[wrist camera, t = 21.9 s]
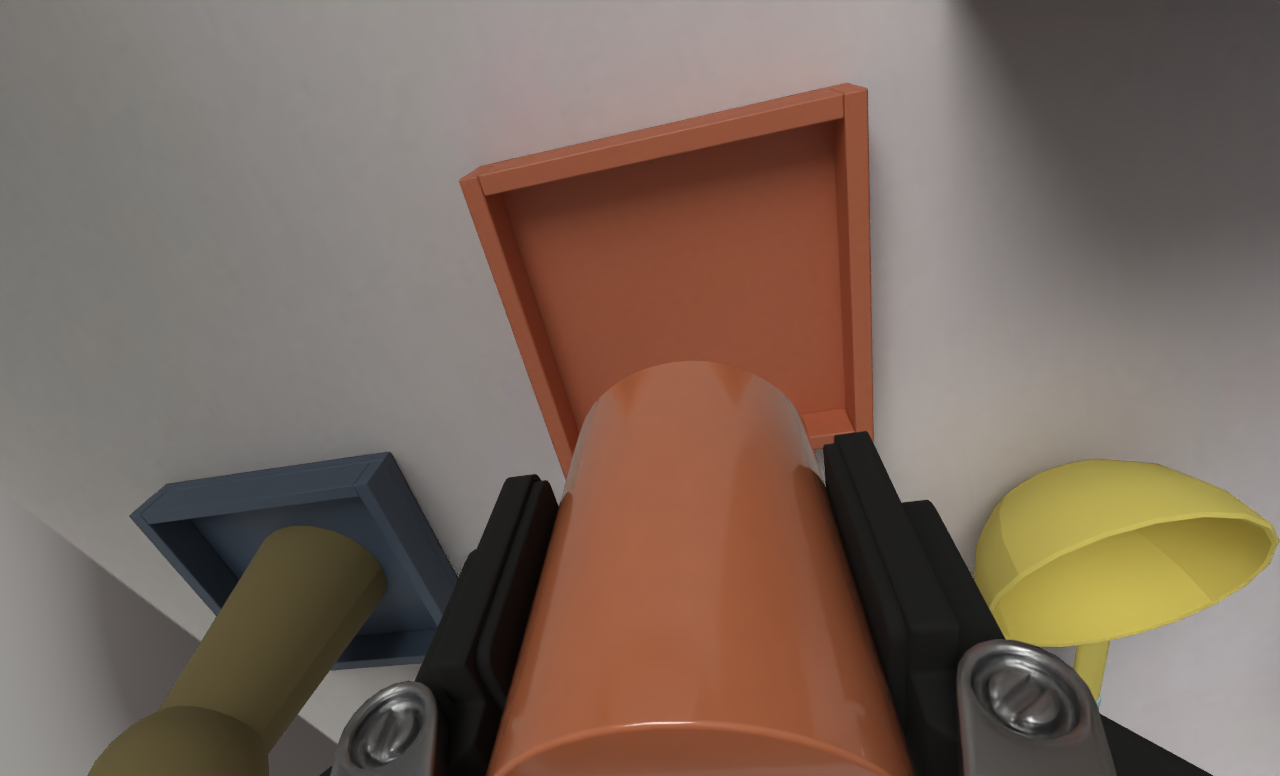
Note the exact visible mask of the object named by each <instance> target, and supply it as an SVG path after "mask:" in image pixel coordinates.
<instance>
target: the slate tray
mask: <svg viewBox="0 0 1280 776" xmlns="http://www.w3.org/2000/svg"><path fill="white" fill-rule="evenodd" d="M129 517H130V518H131V519H132V520H133V521H134V523H135V524H136V525H137V526H138V527H139V528H140V529H141V531H142V532H143V533H144V534H145V535H146V536H147V537H148V539H149V540H150V541H151V542H152V543H153V544H154V545H155V547H156V548H157V549H158V550H159V551H160V552H161V553H162V555H163V556H164V557H165V558H166V559H167V560H168V561H169V563H170V564H171V565H172V566H173V567H174V568H175V569H176V571H177V572H178V573H179V574H180V575H181V576H182V577H183V579H184V580H185V581H186V582H187V583H188V584H189V585H190V587H191V588H192V589H193V590H194V591H195V592H196V593H197V595H198V596H199V597H200V598H201V599H202V600H203V601H204V602H205V604H206V605H207V606H208V607H209V608H210V609H211V610H212V612H213V613H214V614H215V615H216V616H217V615H218V614H219V612H220V610H221V609H222V607H223V606H224V604H225V602H226V601H227V599H228V598H229V596H230V594H231V593H232V591H233V590H234V588H235V586H236V585H237V583H238V581H239V580H240V578H241V577H242V575H243V573H244V572H245V570H246V569H247V567H248V565H249V564H250V562H251V561H252V559H253V557H254V556H255V554H256V553H257V551H258V549H259V548H260V546H261V545H262V543H263V541H264V540H265V538H267V537H268V536H269V535H271V534H272V533H273V532H275V531H276V530H278V529H282V528H286V527H290V526H315V527H319V528H324V529H328V530H332V531H335V532H337V533H339V534H342V535H344V536H346V537H348V538H350V539H352V540H354V541H356V542H357V543H358V544H360V545H361V546H362V547H364V548H365V549H366V550H368V551H369V552H370V553H371V554H372V555H373V556H374V558H375V559H376V560H377V561H378V562H379V564H380V565H381V566H382V569H383V571H384V574H385V576H386V579H387V586H386V593H385V595H384V596H383V598H382V600H381V601H380V603H379V604H378V605H377V607H376V608H375V609H374V611H373V612H372V614H371V615H370V616H369V618H368V619H367V620H366V622H365V623H364V624H363V626H362V627H361V628H360V630H359V631H358V633H357V634H356V635H355V637H354V638H353V639H352V641H351V642H350V643H349V645H348V646H347V648H346V649H345V650H344V652H343V653H342V654H341V656H340V657H339V658H338V660H337V661H336V662H335V664H334V665H333V667H332V668H331V669H330V670H342V669H355V668H368V667H381V666H393V665H406V664H419V663H423V661H424V658H425V656H426V654H427V651H428V649H429V646H430V644H431V642H432V639H433V637H434V635H435V632H436V630H437V628H438V625H439V623H440V621H441V618H442V616H443V613H444V611H445V609H446V606H447V604H448V602H449V599H450V597H451V595H452V592H453V590H454V588H455V585H456V583H457V580H458V579H457V577H456V575H455V573H454V571H453V569H452V567H451V566H450V564H449V562H448V560H447V558H446V556H445V554H444V553H443V551H442V549H441V547H440V545H439V543H438V541H437V539H436V538H435V536H434V534H433V532H432V530H431V528H430V526H429V525H428V523H427V521H426V519H425V517H424V515H423V513H422V511H421V510H420V508H419V506H418V504H417V502H416V500H415V498H414V497H413V495H412V493H411V491H410V489H409V487H408V485H407V483H406V482H405V480H404V478H403V476H402V474H401V472H400V470H399V469H398V467H397V465H396V463H395V461H394V459H393V457H392V455H391V454H390V452H384V453H377V454H370V455H363V456H356V457H349V458H342V459H336V460H329V461H322V462H315V463H308V464H301V465H294V466H287V467H281V468H274V469H267V470H260V471H253V472H246V473H239V474H232V475H225V476H219V477H212V478H205V479H198V480H191V481H184V482H177V483H170V484H166V485H165V486H164V487H162V488H161V489H160V490H159V491H158V492H157V493H155V494H154V495H153V496H152V497H150V498H149V499H148V500H147V501H146V502H145V503H143V504H142V505H141V506H140V507H139V508H138V509H136V510H135V511H134V512H133V513H132V514H131V515H130V516H129Z"/></svg>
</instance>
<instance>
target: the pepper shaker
mask: <svg viewBox="0 0 1280 776" xmlns="http://www.w3.org/2000/svg"><path fill="white" fill-rule="evenodd" d="M386 586H387V579H386V576H385V574H384V571H383V569H382V566H381V565H380V564H379V562H378V561H377V560H376V559H375V558H374V556H373V555H372V554H371V553H370V552H369V551H368V550H366V549H365V548H364V547H362V546H361V545H360V544H358V543H357V542H356V541H354V540H352V539H350V538H348V537H346V536H344V535H342V534H339V533H337V532H335V531H332V530H328V529H324V528H319V527H315V526H290V527H286V528H282V529H278V530H276V531H275V532H273V533H272V534H271V535H269V536H268V537H267V538H265V540H264V541H263V543H262V545H261V546H260V548H259V549H258V551H257V553H256V554H255V556H254V557H253V559H252V561H251V562H250V564H249V565H248V567H247V569H246V570H245V572H244V573H243V575H242V577H241V578H240V580H239V581H238V583H237V585H236V586H235V588H234V590H233V591H232V593H231V594H230V596H229V598H228V599H227V601H226V602H225V604H224V606H223V607H222V609H221V610H220V612H219V614H218V615H217V617H216V618H215V620H214V622H213V623H212V625H211V627H210V628H209V630H208V631H207V633H206V635H205V636H204V638H203V639H202V641H201V643H200V644H199V646H198V647H197V649H196V651H195V652H194V654H193V655H192V657H191V659H190V660H189V662H188V664H187V665H186V667H185V668H184V670H183V672H182V673H181V675H180V676H179V678H178V680H177V681H176V683H175V684H174V686H173V688H172V689H171V691H170V692H169V694H168V696H167V697H166V699H165V701H164V702H163V704H162V705H161V707H160V709H159V710H158V712H156V713H154V714H152V715H150V716H147V717H145V718H143V719H141V720H139V721H138V722H136V723H135V724H133V725H132V726H130V727H129V728H128V729H126V730H125V731H124V732H123V733H122V734H121V735H119V736H118V737H117V738H116V739H115V740H114V741H112V742H111V743H110V744H109V746H108V747H107V748H106V749H105V750H104V752H103V753H102V754H101V755H100V756H99V758H98V759H97V760H96V761H95V763H94V765H93V766H92V768H91V770H90V772H89V774H88V776H269V765H268V754H269V752H270V751H271V750H272V748H273V747H274V746H275V744H276V743H277V741H278V740H279V738H280V737H281V736H282V735H283V733H284V732H285V731H286V729H287V728H288V726H289V725H290V724H291V722H292V721H293V720H294V718H295V717H296V716H297V714H298V713H299V711H300V710H301V709H302V707H303V706H304V705H305V703H306V702H307V701H308V699H309V698H310V697H311V695H312V694H313V692H314V691H315V690H316V688H317V687H318V686H319V684H320V683H321V682H322V680H323V679H324V677H325V676H326V675H327V673H328V672H329V671H330V669H331V668H332V667H333V665H334V664H335V662H336V661H337V660H338V658H339V657H340V656H341V654H342V653H343V652H344V650H345V649H346V648H347V646H348V645H349V643H350V642H351V641H352V639H353V638H354V637H355V635H356V634H357V633H358V631H359V630H360V628H361V627H362V626H363V624H364V623H365V622H366V620H367V619H368V618H369V616H370V615H371V614H372V612H373V611H374V609H375V608H376V607H377V605H378V604H379V603H380V601H381V600H382V598H383V596H384V595H385V593H386Z"/></svg>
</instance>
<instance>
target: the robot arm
mask: <svg viewBox="0 0 1280 776" xmlns="http://www.w3.org/2000/svg"><path fill="white" fill-rule="evenodd" d="M823 452H824V466H825V480H826V489H827V493H828V496H829V499H830V502H831V505H832V508H833V512H834V515H835V518H836V521H837V524H838V527H839V531H840V534H841V537H842V540H843V543H844V546H845V550H846V553H847V556H848V559H849V562H850V565H851V568H852V572H853V575H854V578H855V581H856V584H857V587H858V591H859V594H860V597H861V600H862V603H863V606H864V610H865V613H866V616H867V619H868V622H869V625H870V629H871V632H872V635H873V638H874V641H875V644H876V648H877V651H878V654H879V657H880V660H881V663H882V667H883V670H884V673H885V676H886V679H887V682H888V686H889V689H890V691H891V695H892V698H893V701H894V704H895V707H896V710H897V714H898V717H899V720H900V723H901V726H902V729H903V732H904V736H905V739H906V742H907V745H908V748H909V751H910V755H911V758H912V761H913V764H914V767H915V770H916V774H917V776H1213V775H1211V774H1209V773H1208V772H1206V771H1204V770H1202V769H1200V768H1198V767H1197V766H1195V765H1193V764H1191V763H1189V762H1187V761H1186V760H1184V759H1182V758H1180V757H1178V756H1176V755H1175V754H1173V753H1171V752H1169V751H1167V750H1165V749H1164V748H1162V747H1160V746H1158V745H1156V744H1154V743H1153V742H1151V741H1149V740H1147V739H1145V738H1143V737H1142V736H1140V735H1138V734H1136V733H1134V732H1132V731H1131V730H1129V729H1127V728H1125V727H1123V726H1121V725H1120V724H1118V723H1116V722H1114V721H1112V720H1110V719H1109V718H1107V717H1105V716H1103V715H1101V714H1100V713H1099V710H1098V706H1097V704H1096V701H1095V699H1094V697H1093V695H1092V693H1091V691H1090V689H1089V686H1088V685H1087V684H1086V683H1085V682H1084V681H1083V679H1082V678H1081V677H1080V676H1079V675H1078V673H1077V672H1076V671H1075V670H1074V669H1073V668H1072V667H1070V666H1069V665H1068V664H1066V663H1065V662H1064V661H1062V660H1061V659H1060V658H1058V657H1057V656H1056V655H1054V654H1052V653H1050V652H1048V651H1046V650H1044V649H1042V648H1040V647H1038V646H1035V645H1032V644H1028V643H1024V642H1021V641H1017V640H1006V639H1005V637H1004V635H1003V633H1002V631H1001V629H1000V628H999V626H998V624H997V622H996V620H995V618H994V616H993V614H992V613H991V611H990V609H989V607H988V605H987V603H986V601H985V600H984V598H983V596H982V594H981V592H980V590H979V588H978V586H977V585H976V583H975V581H974V579H973V577H972V575H971V573H970V572H969V570H968V568H967V566H966V564H965V562H964V560H963V559H962V557H961V555H960V553H959V551H958V549H957V547H956V545H955V544H954V542H953V540H952V538H951V536H950V534H949V532H948V531H947V529H946V527H945V525H944V523H943V521H942V519H941V517H940V516H939V514H938V512H937V510H936V508H935V507H934V505H933V504H932V503H931V502H930V501H929V500H922V501H912V502H903V503H901V501H900V499H899V497H898V495H897V493H896V490H895V488H894V486H893V484H892V482H891V480H890V478H889V475H888V473H887V471H886V469H885V467H884V465H883V463H882V461H881V458H880V456H879V454H878V452H877V450H876V448H875V446H874V443H873V441H872V439H871V437H870V435H869V433H868V432H867V431H861V432H854V433H846V434H838V435H835V436H834V443H832V444H824V446H823ZM558 509H559V506H558V504H557V501H556V498H555V496H554V493H553V490H552V488H551V485H550V483H549V482H548V481H546V480H544V481H541V480H540V478H539V476H538V475H536V474H533V475H525V476H517V477H510V478H507V479H506V481H505V482H504V484H503V487H502V489H501V492H500V494H499V497H498V499H497V501H496V504H495V506H494V509H493V511H492V514H491V516H490V518H489V521H488V523H487V526H486V528H485V530H484V533H483V535H482V538H481V540H480V543H479V545H478V547H477V549H476V550H474V551H472V552H471V553H470V554H469V556H468V558H467V560H466V562H465V564H464V566H463V569H462V571H461V573H460V576H459V578H458V580H457V583H456V585H455V588H454V590H453V592H452V595H451V597H450V599H449V602H448V604H447V606H446V609H445V611H444V613H443V616H442V618H441V621H440V623H439V625H438V628H437V630H436V632H435V635H434V637H433V639H432V642H431V644H430V646H429V649H428V651H427V654H426V656H425V658H424V661H423V663H422V665H421V668H420V670H419V672H418V675H417V677H416V679H415V682H413V681H405V682H400V683H395V684H393V685H391V686H389V687H386V688H384V689H382V690H380V691H379V692H377V693H376V694H375V695H373V696H372V697H371V698H369V699H368V700H366V701H365V702H364V704H363V705H362V706H361V707H360V708H359V709H358V710H357V711H356V712H355V713H354V714H353V716H352V717H351V719H350V720H349V722H348V723H347V725H346V726H345V728H344V730H343V732H342V735H341V737H340V740H339V743H338V746H337V750H336V754H335V758H334V762H333V765H332V766H331V767H330V768H329V769H327V770H326V771H325V772H323V773H322V774H321V775H320V776H486V773H487V769H488V765H489V762H490V758H491V754H492V751H493V747H494V743H495V740H496V736H497V732H498V729H499V725H500V721H501V718H502V714H503V710H504V707H505V703H506V699H507V696H508V692H509V688H510V685H511V681H512V677H513V674H514V670H515V666H516V663H517V659H518V655H519V652H520V648H521V644H522V641H523V637H524V633H525V630H526V626H527V622H528V619H529V615H530V611H531V608H532V604H533V600H534V597H535V593H536V589H537V586H538V582H539V578H540V575H541V571H542V567H543V564H544V560H545V556H546V553H547V549H548V545H549V542H550V538H551V534H552V531H553V527H554V523H555V520H556V516H557V512H558Z"/></svg>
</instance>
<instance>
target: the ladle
mask: <svg viewBox="0 0 1280 776" xmlns="http://www.w3.org/2000/svg"><path fill="white" fill-rule="evenodd" d="M1278 543H1279V539H1278V537H1277V534H1276V532H1275V530H1274V528H1273V526H1272V524H1271V523H1270V522H1268V521H1267V520H1265V519H1264V518H1263V517H1261V516H1260V515H1259V514H1257V513H1256V512H1255V511H1253V510H1252V509H1251V508H1249V507H1248V506H1247V505H1245V504H1244V503H1242V502H1241V501H1240V500H1238V499H1237V498H1236V497H1234V496H1233V495H1232V494H1230V493H1229V492H1228V491H1225V490H1223V489H1221V488H1218V487H1216V486H1213V485H1211V484H1209V483H1206V482H1204V481H1201V480H1199V479H1196V478H1194V477H1191V476H1188V475H1186V474H1183V473H1181V472H1178V471H1176V470H1173V469H1170V468H1168V467H1165V466H1163V465H1160V464H1154V463H1143V462H1131V461H1120V460H1105V459H1092V460H1085V461H1078V462H1071V463H1068V464H1065V465H1062V466H1058V467H1055V468H1052V469H1049V470H1046V471H1044V472H1042V473H1040V474H1038V475H1036V476H1034V477H1032V478H1030V479H1028V480H1025V481H1024V482H1022V483H1021V484H1020V485H1018V486H1017V487H1015V488H1014V489H1012V490H1011V491H1010V492H1008V493H1007V494H1006V495H1005V496H1004V497H1003V498H1002V499H1001V501H1000V502H999V503H998V504H997V505H996V506H995V508H994V509H993V511H992V513H991V515H990V517H989V519H988V520H987V522H986V524H985V526H984V528H983V530H982V532H981V535H980V537H979V540H978V542H977V545H976V557H975V574H974V579H975V583H976V585H977V586H978V588H979V590H980V592H981V594H982V596H983V598H984V600H985V601H986V603H987V605H988V607H989V609H990V611H991V613H992V614H993V616H994V618H995V620H996V622H997V624H998V626H999V628H1000V629H1001V631H1002V633H1003V635H1004V637H1005V639H1006V640H1017V641H1021V642H1024V643H1028V644H1032V645H1035V646H1050V647H1066V646H1074V645H1077V646H1076V653H1075V661H1074V668H1073V669H1074V670H1075V671H1076V672H1077V673H1078V675H1079V676H1080V677H1081V678H1082V679H1083V681H1084V682H1085V683H1086V684H1087V685H1088V686H1089V689H1090V691H1091V693H1092V695H1093V697H1094V699H1095V701H1096V704H1097V706H1098V710H1099V706H1100V701H1101V696H1100V690H1101V685H1102V680H1103V675H1104V669H1105V664H1106V659H1107V654H1108V649H1109V643H1110V640H1113V639H1117V638H1122V637H1126V636H1131V635H1135V634H1139V633H1142V632H1145V631H1148V630H1151V629H1154V628H1157V627H1161V626H1164V625H1167V624H1170V623H1173V622H1176V621H1179V620H1181V619H1183V618H1185V617H1188V616H1190V615H1192V614H1194V613H1197V612H1199V611H1201V610H1203V609H1205V608H1208V607H1210V606H1212V605H1214V604H1216V603H1218V602H1220V601H1221V600H1223V599H1225V598H1226V597H1228V596H1230V595H1231V594H1233V593H1234V592H1236V591H1238V590H1239V589H1241V588H1243V587H1244V586H1246V585H1247V584H1249V583H1250V582H1251V581H1252V580H1253V579H1254V578H1255V577H1256V576H1257V575H1258V574H1259V573H1260V572H1261V571H1262V570H1263V569H1265V568H1266V567H1267V566H1268V565H1269V564H1270V561H1271V559H1272V557H1273V555H1274V552H1275V550H1276V548H1277V545H1278Z"/></svg>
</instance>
